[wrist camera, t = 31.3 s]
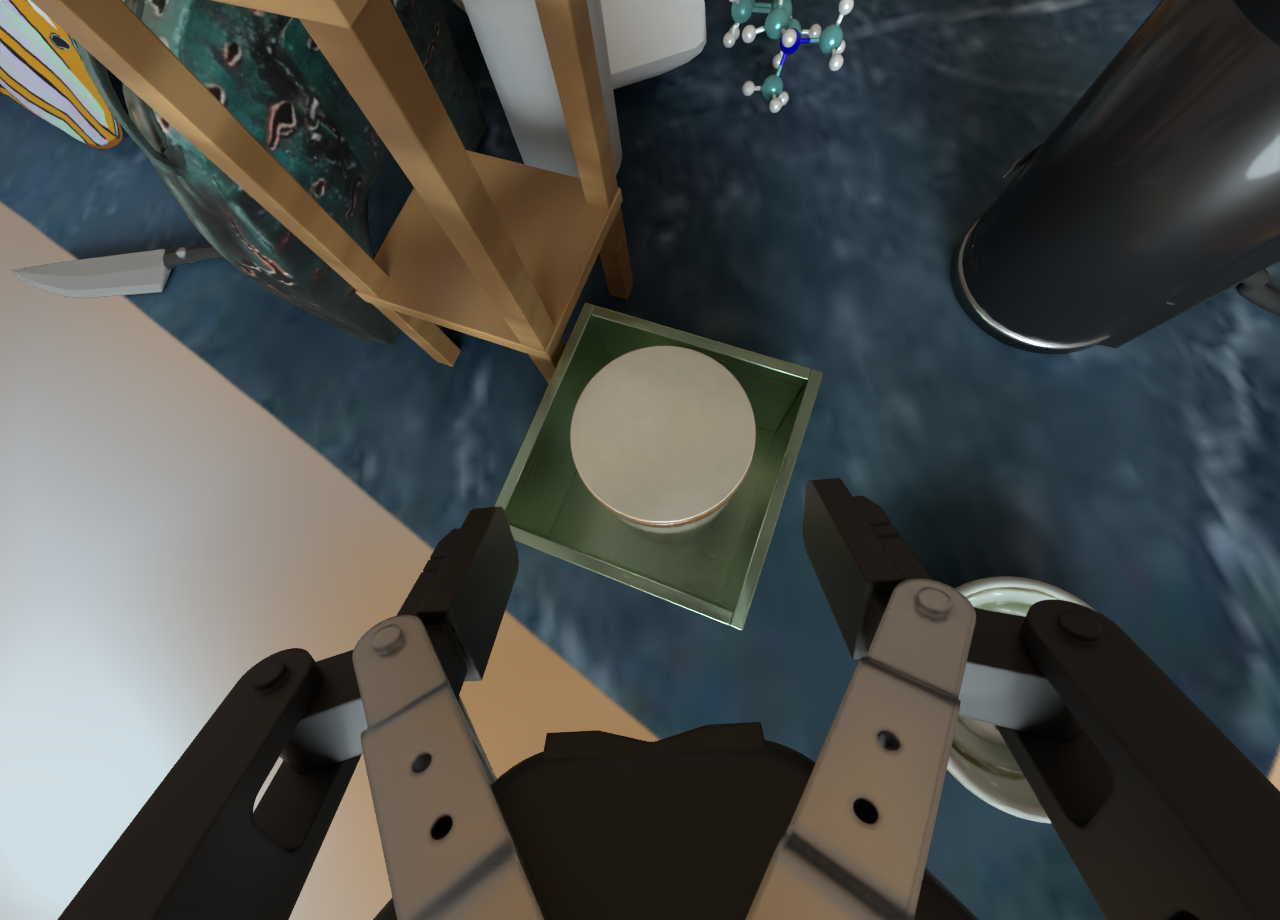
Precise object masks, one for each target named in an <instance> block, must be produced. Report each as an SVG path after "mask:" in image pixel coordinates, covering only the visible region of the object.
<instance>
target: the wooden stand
mask: <svg viewBox="0 0 1280 920" xmlns="http://www.w3.org/2000/svg"><path fill="white" fill-rule="evenodd" d="M31 1H32V2H33V3H34V4H35V5H36V6H37V7H38V8H40V9H41V10H42V11H43V12H44V13H45V14H46V15H47V16H49V17H50V18H51V19H52V20H53V21H54V22H55V23H57V24H58V25H59V26H60V27H61V28H62V29H63V30H64V31H66V32H67V33H68V34H69V35H70V36H71V37H72V38H73V39H75V40H76V41H77V42H78V43H79V44H80V45H81V46H82V47H84V48H85V49H86V50H87V51H88V52H89V53H90V54H91V55H93V56H94V57H95V58H96V59H97V60H98V61H99V62H100V63H102V64H103V65H104V66H105V67H106V68H107V69H108V70H109V71H111V72H112V73H113V74H114V75H115V76H116V77H117V78H118V79H120V80H121V81H122V82H123V83H124V84H125V85H126V86H127V87H129V88H130V89H131V90H132V91H133V92H134V93H135V94H136V95H138V96H139V97H140V98H141V99H142V100H143V101H144V102H145V103H147V104H148V105H149V106H150V107H151V108H152V109H153V110H154V111H156V112H157V113H158V114H159V115H160V116H161V117H162V118H163V119H165V120H166V121H167V122H168V123H169V124H170V125H171V126H172V127H174V128H175V129H176V130H177V131H178V132H179V133H180V134H181V135H183V136H184V137H185V138H186V139H187V140H188V141H189V142H190V143H192V144H193V145H194V146H195V147H196V148H197V149H198V150H199V151H201V152H202V153H203V154H204V155H205V156H206V157H207V158H208V159H210V160H211V161H212V162H213V163H214V164H215V165H216V166H217V167H219V168H220V169H221V170H222V171H223V172H224V173H225V174H226V175H228V176H229V177H230V178H231V179H232V180H233V181H234V182H236V183H237V184H238V185H239V186H240V187H241V188H242V189H243V190H245V191H246V192H247V193H248V194H249V195H250V196H251V197H252V198H254V199H255V200H256V201H257V202H258V203H259V204H260V205H261V206H263V207H264V208H265V209H266V210H267V211H268V212H269V213H270V214H272V215H273V216H274V217H275V218H276V219H277V220H278V221H279V222H281V223H282V224H283V225H284V226H285V227H286V228H287V229H288V230H290V231H291V232H292V233H293V234H294V235H295V236H296V237H297V238H299V239H300V240H301V241H302V242H303V243H304V244H305V245H306V246H308V247H309V248H310V249H311V250H312V251H313V252H314V253H315V254H317V255H318V256H319V257H320V258H321V259H322V260H323V261H324V262H326V263H327V264H328V265H329V266H330V267H331V268H332V269H333V270H335V271H336V272H337V273H338V274H339V275H340V276H341V277H342V278H344V279H345V280H346V281H347V282H348V283H349V284H350V285H351V286H353V287H354V288H355V289H356V294H357V295H359V296H360V297H361V298H362V299H363V300H364V301H366V302H369V303H372V304H373V305H374V306H375V307H376V308H377V309H378V310H380V311H381V312H382V313H383V314H384V315H385V316H386V317H387V318H389V319H390V320H391V321H392V322H393V323H394V324H395V325H396V326H398V327H399V328H400V329H401V330H402V331H403V332H404V333H406V334H407V335H408V336H409V337H410V338H411V339H412V340H413V341H415V342H416V343H417V344H418V345H419V346H420V347H421V348H422V349H424V350H425V351H426V352H427V353H428V354H429V355H430V356H431V357H433V358H434V359H435V360H436V361H437V362H440V363H443V364H446V365H449V366H453V365H454V363H455V361H456V359H457V357H458V355H459V353H460V351H461V350H460V349H459V348H458V347H457V346H456V345H455V344H454V343H453V342H452V341H451V340H450V339H449V338H448V337H447V336H446V335H445V334H444V333H443V331H442V330H441V329H440V328H439V327H438V326H437V325H440V326H443V327H446V328H450V329H453V330H456V331H459V332H462V333H465V334H468V335H471V336H474V337H478V338H481V339H484V340H487V341H490V342H493V343H496V344H499V345H502V346H506V347H509V348H512V349H515V350H518V351H521V352H524V353H527V354H529V356H530V357H531V359H532V360H533V362H534V363H535V365H536V366H537V368H538V369H539V370H540V372H541V373H542V375H543V376H544V378H545V379H546V381H547V382H548V384H549V383H550V380H551V378H552V376H553V374H554V371H555V369H556V367H557V365H558V362H559V360H560V358H561V356H562V353H563V351H564V349H565V346H564V344H563V342H562V340H561V336H562V334H563V332H564V330H565V327H566V325H567V323H568V321H569V319H570V316H571V314H572V312H573V310H574V307H575V305H576V303H577V301H578V299H579V296H580V294H581V292H582V290H583V287H584V285H585V283H586V281H587V279H588V276H589V274H590V272H591V270H592V267H593V265H594V263H595V261H596V259H597V256H598V254H600V258H601V262H602V266H603V270H604V274H605V278H606V282H607V286H608V290H609V293H610V295H613V296H616V297H620V298H623V299H628V296H629V294H630V292H631V289H632V287H633V284H634V283H633V277H632V271H631V265H630V259H629V253H628V247H627V240H626V234H625V228H624V222H623V216H622V210H621V203H622V193H621V189H620V188H618V186H617V180H616V174H615V168H614V162H613V156H612V150H611V144H610V138H609V132H608V126H607V120H606V113H605V107H604V101H603V95H602V89H601V83H600V77H599V71H598V65H597V59H596V53H595V47H594V41H593V35H592V29H591V23H590V17H589V11H588V5H587V0H535V4H536V8H537V11H538V15H539V19H540V23H541V27H542V31H543V35H544V39H545V43H546V47H547V51H548V55H549V58H550V62H551V66H552V70H553V74H554V78H555V82H556V86H557V90H558V94H559V98H560V102H561V105H562V109H563V113H564V117H565V121H566V125H567V129H568V133H569V137H570V141H571V145H572V149H573V152H574V156H575V160H576V164H577V168H578V172H579V176H580V178H577V177H573V176H569V175H565V174H561V173H557V172H553V171H549V170H545V169H541V168H537V167H533V166H529V165H525V164H521V163H517V162H513V161H509V160H505V159H501V158H497V157H493V156H488V155H484V154H480V153H476V152H472V151H468V150H465V148H464V146H463V144H462V142H461V140H460V138H459V136H458V134H457V132H456V130H455V128H454V126H453V124H452V122H451V120H450V118H449V116H448V114H447V112H446V110H445V108H444V106H443V104H442V102H441V100H440V98H439V96H438V94H437V93H436V91H435V89H434V87H433V85H432V83H431V81H430V79H429V77H428V75H427V73H426V71H425V69H424V67H423V65H422V63H421V61H420V59H419V57H418V55H417V53H416V51H415V49H414V47H413V45H412V43H411V41H410V39H409V37H408V35H407V33H406V31H405V29H404V27H403V25H402V23H401V21H400V19H399V17H398V15H397V13H396V11H395V9H394V7H393V5H392V3H391V1H390V0H212V1H217V2H221V3H226V4H231V5H236V6H241V7H245V8H250V9H255V10H260V11H265V12H270V13H274V14H279V15H284V16H289V17H294V18H298V19H299V20H300V21H301V23H302V24H303V25H304V27H305V28H306V30H307V31H308V33H309V34H310V36H311V37H312V39H313V40H314V42H315V43H316V44H317V46H318V47H319V49H320V50H321V52H322V53H323V55H324V56H325V58H326V59H327V61H328V62H329V63H330V65H331V66H332V68H333V69H334V71H335V72H336V74H337V75H338V77H339V78H340V80H341V81H342V82H343V84H344V85H345V87H346V88H347V90H348V91H349V93H350V94H351V96H352V97H353V99H354V100H355V101H356V103H357V104H358V106H359V107H360V109H361V110H362V112H363V113H364V115H365V116H366V118H367V119H368V120H369V122H370V123H371V125H372V126H373V128H374V129H375V131H376V132H377V134H378V135H379V137H380V138H381V139H382V141H383V142H384V144H385V145H386V147H387V148H388V150H389V151H390V153H391V154H392V156H393V157H394V158H395V160H396V161H397V163H398V164H399V166H400V167H401V169H402V170H403V172H404V173H405V175H406V176H407V178H408V179H409V180H410V182H411V183H412V185H413V186H414V188H413V190H412V192H411V194H410V196H409V197H408V199H407V201H406V203H405V204H404V206H403V208H402V210H401V211H400V213H399V215H398V217H397V219H396V220H395V222H394V224H393V226H392V227H391V229H390V231H389V233H388V235H387V236H386V238H385V240H384V242H383V243H382V245H381V247H380V249H379V251H378V252H377V254H376V256H375V258H374V259H372V258H371V257H370V256H369V255H368V254H367V253H366V252H365V251H364V250H363V249H362V248H361V247H360V246H359V245H358V244H357V243H356V242H355V241H354V239H353V238H352V237H351V236H350V235H349V234H348V233H347V232H346V231H345V230H344V229H343V228H342V227H341V226H340V225H339V224H338V223H337V222H336V221H335V220H334V219H333V218H332V217H331V216H330V215H329V214H328V213H327V212H326V211H325V210H324V208H323V207H322V206H321V205H320V204H319V203H318V202H317V201H316V200H315V199H314V198H313V197H312V196H311V195H310V194H309V193H308V192H307V191H306V190H305V189H304V188H303V187H302V186H301V185H300V184H299V183H298V182H297V181H296V180H295V179H294V177H293V176H292V175H291V174H290V173H289V172H288V171H287V170H286V169H285V168H284V167H283V166H282V165H281V164H280V163H279V162H278V161H277V160H276V159H275V158H274V157H273V156H272V155H271V154H270V153H269V152H268V151H267V150H266V149H265V148H264V146H263V145H262V144H261V143H260V142H259V141H258V140H257V139H256V138H255V137H254V136H253V135H252V134H251V133H250V132H249V131H248V130H247V129H246V128H245V127H244V126H243V125H242V124H241V123H240V122H239V121H238V120H237V119H236V118H235V117H234V115H233V114H232V113H231V112H230V111H229V110H228V109H227V108H226V107H225V106H224V105H223V104H222V103H221V102H220V101H219V100H218V99H217V98H216V97H215V96H214V95H213V94H212V93H211V92H210V91H209V90H208V89H207V88H206V87H205V85H204V84H203V83H202V82H201V81H200V80H199V79H198V78H197V77H196V76H195V75H194V74H193V73H192V72H191V71H190V70H189V69H188V68H187V67H186V66H185V65H184V64H183V63H182V62H181V61H180V60H179V59H178V58H177V57H176V56H175V54H174V53H173V52H172V51H171V50H170V49H169V48H168V47H167V46H166V45H165V44H164V43H163V42H162V41H161V40H160V39H159V38H158V37H157V36H156V35H155V34H154V33H153V32H152V31H151V30H150V29H149V28H148V27H147V26H146V25H145V23H144V22H143V21H142V20H141V19H140V18H139V17H138V16H137V15H136V14H135V13H134V12H133V11H132V10H131V9H130V8H129V7H128V6H127V5H126V4H125V3H124V2H123V1H122V0H31ZM436 324H437V325H436Z"/></svg>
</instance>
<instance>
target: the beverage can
mask: <svg viewBox="0 0 1280 920" xmlns="http://www.w3.org/2000/svg"><path fill="white" fill-rule="evenodd" d="M462 1H463V4H464V7H465V9H466V12H467V14H468V17H469V20H470V22H471V25H472V28H473V30H474V33H475V36H476V38H477V41H478V43H479V46H480V49H481V51H482V54H483V57H484V59H485V62H486V64H487V67H488V70H489V72H490V75H491V78H492V80H493V83H494V86H495V88H496V91H497V93H498V96H499V99H500V101H501V104H502V107H503V109H504V112H505V114H506V117H507V120H508V122H509V125H510V128H511V130H512V133H513V136H514V138H515V141H516V143H517V146H518V149H519V151H520V154H521V157H522V159H523V162H524V164H525V165H529V166H533V167H537V168H541V169H545V170H549V171H553V172H557V173H561V174H565V175H569V176H573V177H577V178H580V176H579V172H578V168H577V164H576V160H575V156H574V152H573V149H572V145H571V141H570V137H569V133H568V129H567V125H566V121H565V117H564V113H563V109H562V105H561V102H560V98H559V94H558V90H557V86H556V82H555V78H554V74H553V70H552V66H551V62H550V58H549V55H548V51H547V47H546V43H545V39H544V35H543V31H542V27H541V23H540V19H539V15H538V11H537V8H536V4H535V0H462ZM587 5H588V11H589V17H590V23H591V29H592V35H593V41H594V47H595V53H596V59H597V65H598V71H599V77H600V83H601V89H602V95H603V101H604V107H605V113H606V120H607V126H608V132H609V138H610V144H611V150H612V156H613V162H614V168H615V174H617V172H618V170H619V168H620V165H621V161H622V149H621V142H620V135H619V128H618V121H617V114H616V107H615V100H614V92H613V85H612V78H611V71H610V64H609V57H608V50H607V43H606V36H605V29H604V22H603V15H602V8H601V1H600V0H587Z"/></svg>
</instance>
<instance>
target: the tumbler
mask: <svg viewBox="0 0 1280 920" xmlns="http://www.w3.org/2000/svg"><path fill="white" fill-rule="evenodd" d="M570 444H571V452H572V457H573V461H574V464H575V467H576V470H577V472H578V474H579V476H580V478H581V480H582V482H583V483H584V485H585V486H586V487H587V489H588V490H589V492H590V493H591V494H592V495H593V496H594V497H595V498H596V499H597V500H598V501H599V502H600V503H601V504H602V505H603V506H605V507H606V508H607V509H608V510H609V511H611V512H612V513H614V514H615V515H616V516H617V517H618V518H619V519H620V520H621V521H622V522H623V523H624V524H625V525H626V526H627V527H628V528H629V529H630V530H632V531H633V532H634V533H635V534H637V535H638V536H640V537H641V538H643V539H645V540H648V541H650V542H653V543H657V544H663V545H676V544H683V543H687V542H690V541H692V540H695V539H697V538H698V537H700V536H702V535H703V534H705V533H706V532H707V531H708V530H710V529H711V528H712V527H713V526H714V524H715V523H716V522H717V520H718V519H719V517H720V516H721V514H722V512H723V511H724V509H725V507H726V506H727V504H728V502H729V501H730V499H731V497H732V496H733V495H734V494H735V492H736V491H737V490H738V488H739V487H740V485H741V483H742V482H743V480H744V478H745V477H746V475H747V473H748V471H749V468H750V466H751V463H752V460H753V456H754V453H755V447H756V423H755V417H754V413H753V410H752V406H751V403H750V401H749V399H748V397H747V395H746V392H745V391H744V389H743V388H742V386H741V385H740V383H739V382H738V380H737V379H736V378H735V377H734V376H733V375H732V373H731V372H729V371H728V370H727V369H726V368H725V367H724V366H723V365H721V364H720V363H718V362H717V361H715V360H714V359H712V358H710V357H709V356H707V355H705V354H703V353H700V352H697V351H695V350H692V349H687V348H683V347H677V346H652V347H645V348H641V349H637V350H634V351H631V352H629V353H626V354H624V355H622V356H620V357H618V358H616V359H614V360H613V361H611V362H610V363H609V364H607V365H606V366H604V367H603V368H602V369H601V370H600V371H599V372H598V373H596V375H595V376H594V377H593V378H592V379H591V380H590V381H589V383H588V384H587V386H586V387H585V389H584V390H583V391H582V393H581V395H580V397H579V399H578V401H577V404H576V407H575V410H574V412H573V417H572V422H571V431H570Z"/></svg>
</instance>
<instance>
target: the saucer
mask: <svg viewBox="0 0 1280 920" xmlns="http://www.w3.org/2000/svg"><path fill="white" fill-rule="evenodd" d="M955 589H956V590H957V591H959V592H960V593H962V594H963V595H964V596H965V597H966V598H967V599H968V600H969V601H970V602H971V604H972V605H973V607H976V608H979V609H984V610H989V611H995V612H1001V613H1007V614H1012V615H1018V616H1024V617H1026V615H1027V612H1028V610H1029V608H1030V607H1031V606H1032V605H1033V604H1034V603H1036V602H1038V601H1042V600H1050V599H1052V600H1064V601H1069V602H1073V603H1077V604H1080V605H1083V606H1085V607H1088V608H1090V609H1093V608H1092V607H1091V606H1089V605H1088V604H1086V603H1085V602H1083V601H1082V600H1080V599H1079V598H1077V597H1076V596H1074V595H1072V594H1070V593H1068V592H1066V591H1064V590H1062V589H1060V588H1058V587H1055V586H1053V585H1050V584H1047V583H1044V582H1041V581H1037V580H1033V579H1028V578H1022V577H1012V576H998V577H988V578H982V579H978V580H974V581H971V582H968V583H965V584H963V585H961V586H958V587H956V588H955ZM1093 610H1094V609H1093ZM1094 611H1096V610H1094ZM1096 612H1097V611H1096ZM947 770H948V771H949V772H950V773H951V774H952V775H953V776H954V777H955V778H956V779H957V780H958V781H959V782H960V783H961V784H962V785H964V786H965V787H966V788H967V789H968V790H969V791H971V792H972V793H973V794H975V795H976V796H977V797H979V798H981V799H982V800H984V801H985V802H987V803H989V804H990V805H992V806H994V807H996V808H998V809H1000V810H1002V811H1004V812H1006V813H1009V814H1011V815H1014V816H1017V817H1020V818H1023V819H1027V820H1031V821H1036V822H1042V823H1051V821H1050V819H1049V818H1048V816H1047V814H1046V813H1045V811H1044V809H1043V807H1042V806H1041V804H1040V802H1039V800H1038V799H1037V797H1036V795H1035V793H1034V792H1033V790H1032V788H1031V786H1030V785H1029V783H1028V781H1027V779H1026V778H1025V776H1024V774H1023V772H1022V771H1021V769H1020V767H1019V765H1018V764H1017V762H1016V760H1015V759H1014V757H1013V755H1012V753H1011V752H1010V750H1009V748H1008V746H1007V745H1006V743H1005V741H1004V739H1003V738H1002V736H1001V734H1000V732H999V731H998V729H997V727H996V725H994V724H990V723H986V722H982V721H978V720H973V719H969V718H965V717H961V716H958V719H957V724H956V728H955V733H954V738H953V742H952V747H951V751H950V756H949V761H948V765H947Z"/></svg>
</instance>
